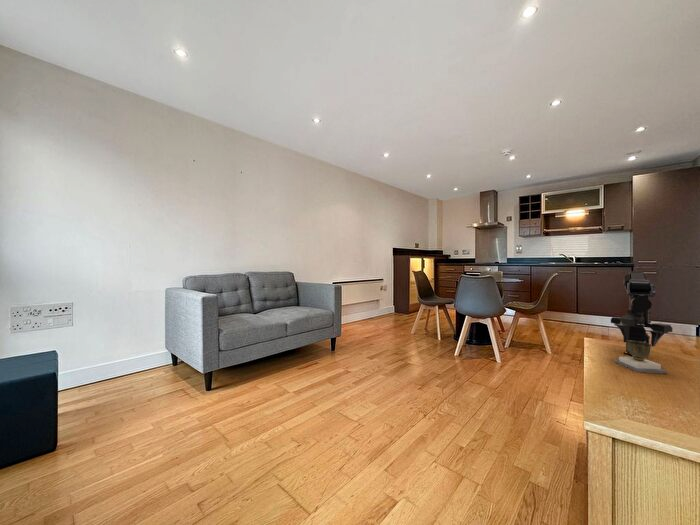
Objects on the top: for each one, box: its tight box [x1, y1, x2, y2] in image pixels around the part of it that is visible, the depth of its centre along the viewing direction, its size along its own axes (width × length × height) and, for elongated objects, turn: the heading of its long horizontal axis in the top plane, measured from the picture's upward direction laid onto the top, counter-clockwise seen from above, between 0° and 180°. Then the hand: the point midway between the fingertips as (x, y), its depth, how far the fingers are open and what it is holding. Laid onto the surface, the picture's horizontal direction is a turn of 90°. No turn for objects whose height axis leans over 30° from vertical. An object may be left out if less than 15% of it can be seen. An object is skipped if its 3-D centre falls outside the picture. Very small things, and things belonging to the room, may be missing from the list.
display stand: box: [613, 356, 668, 374], centre depth 121 cm, size 12×11×3 cm
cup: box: [627, 340, 652, 361], centre depth 121 cm, size 8×7×8 cm
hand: (639, 343), depth 121 cm, fingers open, 9 cm apart
